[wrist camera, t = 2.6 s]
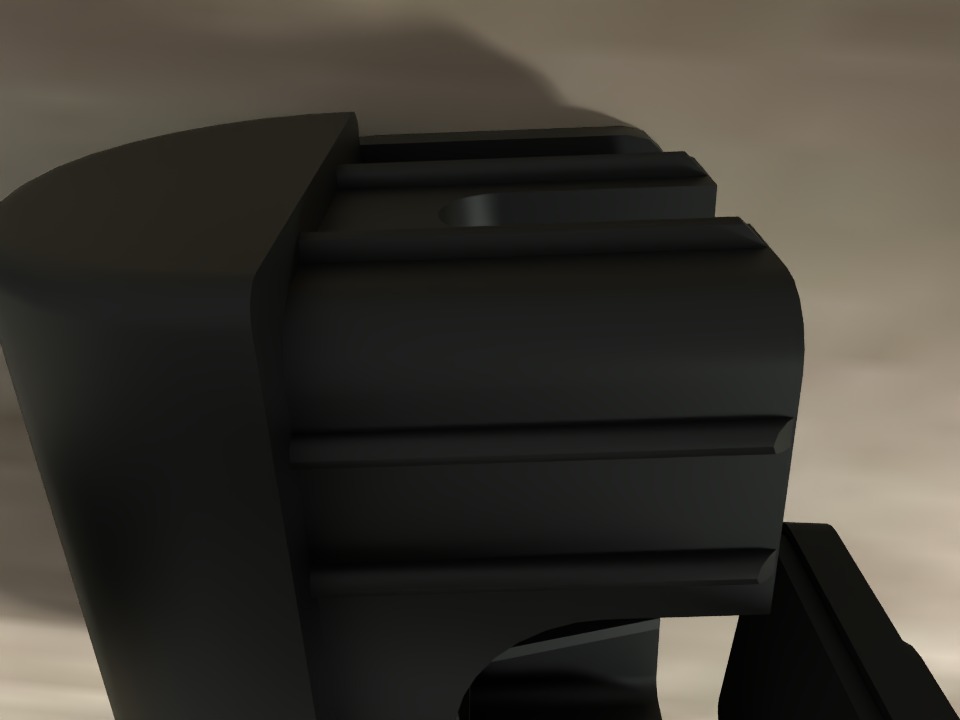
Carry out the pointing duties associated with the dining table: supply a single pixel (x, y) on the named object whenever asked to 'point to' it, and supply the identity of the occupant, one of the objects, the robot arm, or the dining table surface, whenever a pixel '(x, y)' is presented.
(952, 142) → the dining table surface
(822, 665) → the robot arm
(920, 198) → the dining table surface
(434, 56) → the dining table surface
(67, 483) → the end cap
